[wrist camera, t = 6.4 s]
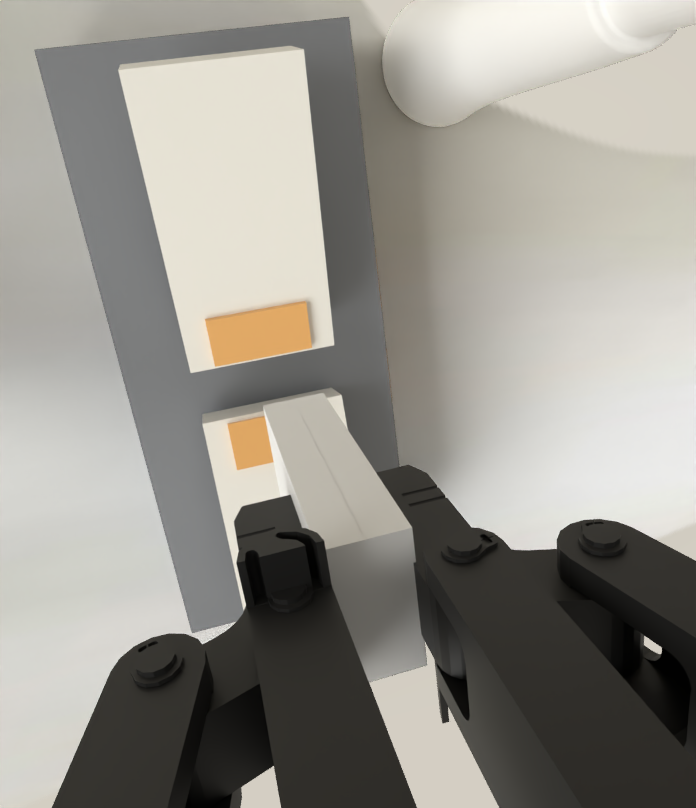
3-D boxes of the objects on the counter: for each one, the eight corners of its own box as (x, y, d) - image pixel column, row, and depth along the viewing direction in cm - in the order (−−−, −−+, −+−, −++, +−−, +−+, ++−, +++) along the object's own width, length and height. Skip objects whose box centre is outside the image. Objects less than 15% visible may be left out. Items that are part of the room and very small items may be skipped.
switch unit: (189, 568, 40) (192, 649, 33) (60, 70, 30) (26, 43, 23) (388, 519, 42) (429, 586, 35) (330, 40, 32) (370, 8, 25)
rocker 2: (250, 633, 32) (254, 662, 29) (202, 413, 30) (202, 425, 27) (369, 601, 33) (383, 627, 30) (331, 387, 31) (342, 395, 28)
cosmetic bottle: (463, -32, 32) (935, -351, 12) (511, 88, 35) (969, -14, 15) (359, 34, 32) (663, -180, 12) (414, 149, 35) (744, 131, 15)
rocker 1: (187, 347, 29) (191, 376, 26) (120, 64, 23) (117, 70, 21) (321, 322, 30) (335, 347, 28) (290, 45, 24) (305, 49, 22)
